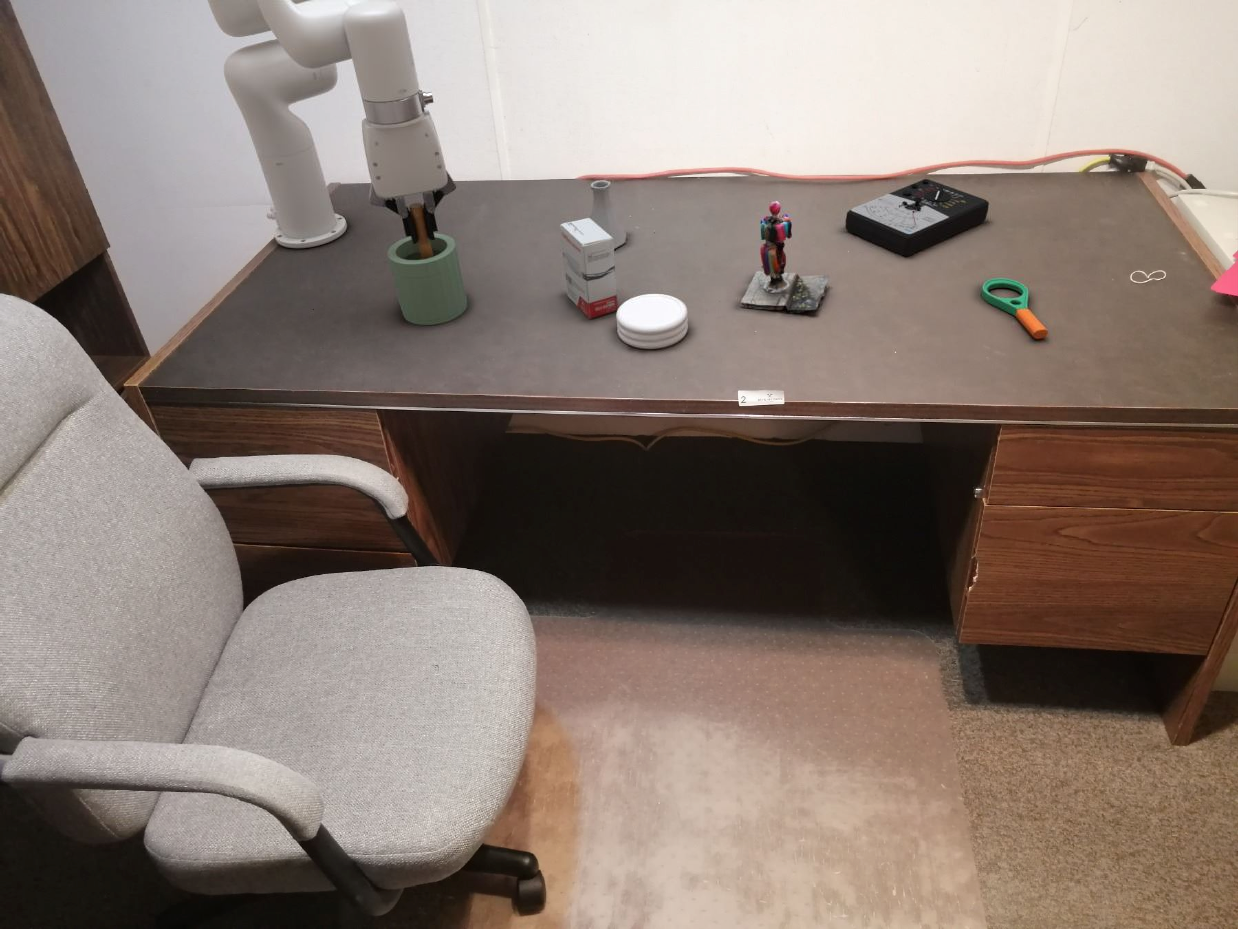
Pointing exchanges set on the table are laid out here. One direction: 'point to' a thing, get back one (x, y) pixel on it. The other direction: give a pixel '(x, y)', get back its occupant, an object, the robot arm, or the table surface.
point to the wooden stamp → (421, 231)
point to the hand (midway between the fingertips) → (422, 237)
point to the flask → (606, 212)
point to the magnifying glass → (1014, 304)
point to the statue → (781, 272)
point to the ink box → (589, 267)
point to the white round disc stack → (652, 321)
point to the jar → (428, 281)
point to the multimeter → (916, 216)
